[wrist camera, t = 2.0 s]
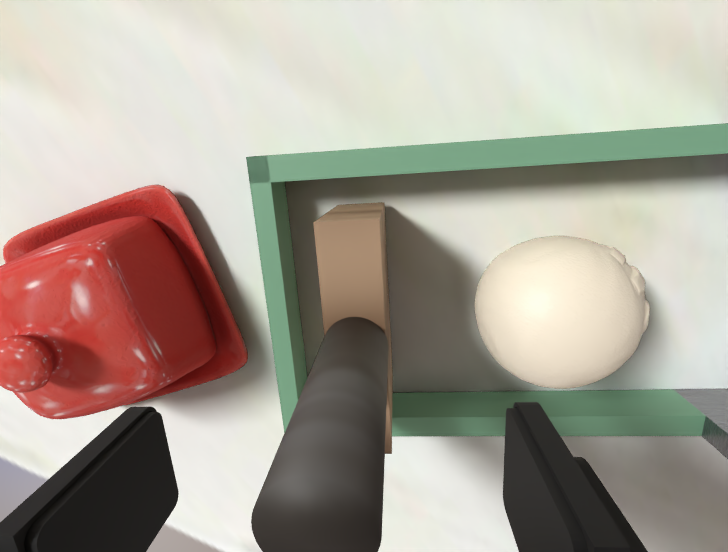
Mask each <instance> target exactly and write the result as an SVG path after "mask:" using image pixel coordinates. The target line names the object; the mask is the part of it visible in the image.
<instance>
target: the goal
mask: <svg viewBox="0 0 728 552" xmlns="http://www.w3.org/2000/svg"><path fill="white" fill-rule="evenodd" d="M673 390H675V391H676V392H677V393H678V394H680V395H681V396H682V397H683V398H684V399H686V400H687V401H688V402H689V403H691V404H692V405H693V406H694V407H696V408H697V409H698V410H699V411H701V412H702V413H703V414H704V415H705V416H706V417H705V422H704V427H703V432H702V437H704V438H705V439H706V440H707V441H708V442H709V443H710V444H711V445H713V446H714V447H715V448H716V449H717V450H718V451H719V452H720V453H722V454H723V455H724V456H725V457H726V458H727V459H728V389H673Z"/></svg>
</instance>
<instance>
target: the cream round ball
mask: <svg viewBox="0 0 728 552" xmlns="http://www.w3.org/2000/svg"><path fill="white" fill-rule="evenodd" d="M644 289H645V280H644V278H643V276H642V275H641V273H640V272H639V270H638V269H637V268H636V267H634V266H629V265H628V264H627V263H626V258H625V256H624V255H623V254H622V253H621V252H620V251H618V250H617V249H616V248H614V247H608V246H605V245H600V244H598V243H595V242H593V241H590V240H587V239H582V238H575V237H568V236H549V237H541V238H536V239H532V240H528V241H526V242H523V243H520V244H517V245H515V246H513V247H511V248H509V249H508V250H506V251H505V252H503V253H501V254H500V255H498V256H497V257H496V258H495V259H494V260H493V261H492V262H491V263H490V264H489V266H488V267H487V268H486V270H485V271H484V273H483V275H482V276H481V278H480V281H479V283H478V287H477V291H476V295H475V315H476V320H477V325H478V329H479V332H480V334H481V337H482V339H483V342H484V343H485V345H486V347H487V349H488V350H489V352H490V353H491V354H492V356H493V357H494V359H495V360H496V361H497V362H498V363H499V364H500V365H501V366H502V367H503V368H505V369H506V370H507V371H509V372H510V373H512V374H513V375H514V376H516V377H518V378H520V379H521V380H524V381H526V382H529V383H531V384H534V385H537V386H542V387H548V388H555V389H556V388H557V389H567V388H576V387H580V386H584V385H588V384H591V383H594V382H596V381H599V380H601V379H603V378H605V377H607V376H609V375H610V374H612V373H613V372H615V371H616V370H617V369H619V368H620V367H621V366H622V365H623V364H624V363H625V362H626V361H627V360H628V359H629V358H630V357H631V356H632V355H633V354H634V352H635V351H636V349H637V347H638V345H639V343H640V340H641V336H642V334H643V333H644V332H645V330H646V329H647V327H648V323H649V313H650V306H649V303H648V302H647V301H646V300H645V292H644Z"/></svg>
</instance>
